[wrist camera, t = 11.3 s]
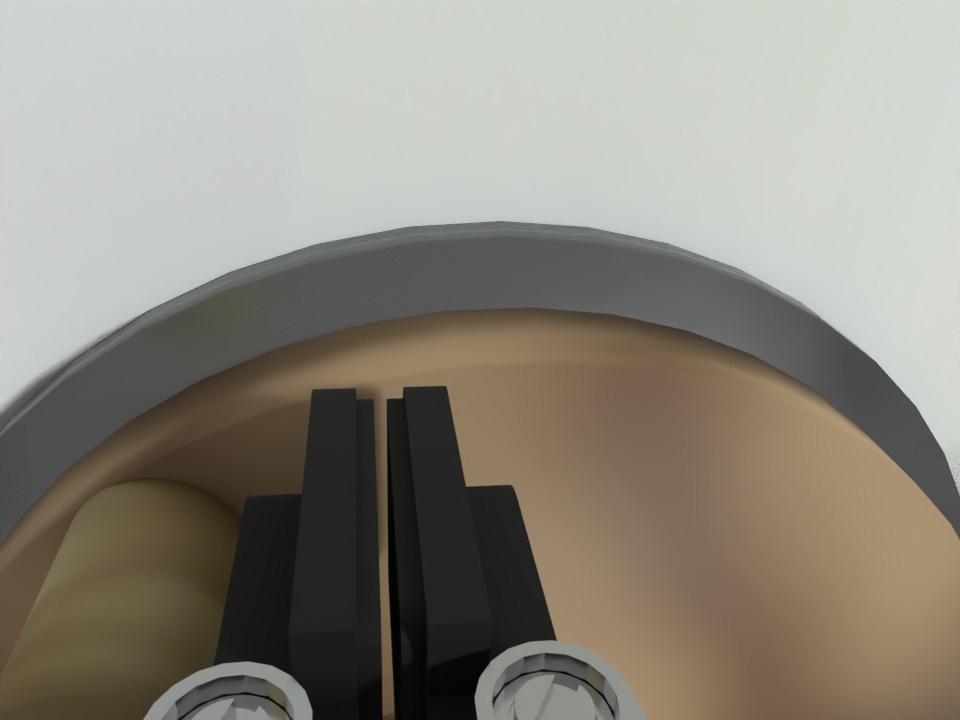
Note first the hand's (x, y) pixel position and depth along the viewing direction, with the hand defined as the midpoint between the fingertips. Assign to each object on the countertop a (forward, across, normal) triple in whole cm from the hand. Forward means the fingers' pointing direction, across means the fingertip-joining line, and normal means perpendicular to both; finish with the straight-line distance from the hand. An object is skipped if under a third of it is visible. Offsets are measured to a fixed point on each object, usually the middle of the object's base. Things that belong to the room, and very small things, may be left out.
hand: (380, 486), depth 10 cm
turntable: (+3, -2, +9) cm, 9 cm away
